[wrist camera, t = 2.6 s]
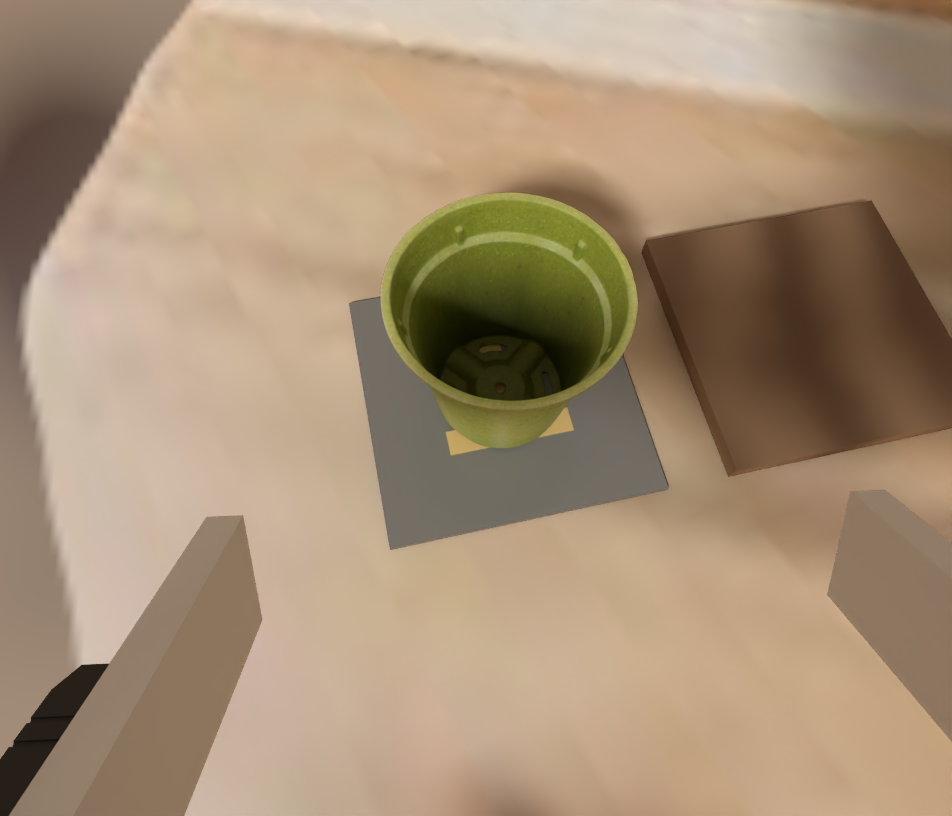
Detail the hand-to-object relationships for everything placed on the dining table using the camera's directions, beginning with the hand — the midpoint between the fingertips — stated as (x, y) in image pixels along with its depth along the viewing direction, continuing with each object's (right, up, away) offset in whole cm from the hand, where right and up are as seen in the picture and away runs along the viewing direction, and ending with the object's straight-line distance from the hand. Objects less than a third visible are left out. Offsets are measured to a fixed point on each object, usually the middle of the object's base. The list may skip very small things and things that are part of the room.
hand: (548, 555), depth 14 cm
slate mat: (0, +4, +18) cm, 18 cm away
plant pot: (0, +4, +18) cm, 18 cm away
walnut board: (+15, +7, +19) cm, 25 cm away
